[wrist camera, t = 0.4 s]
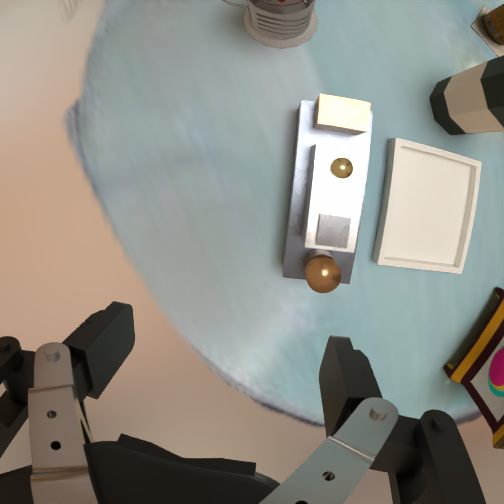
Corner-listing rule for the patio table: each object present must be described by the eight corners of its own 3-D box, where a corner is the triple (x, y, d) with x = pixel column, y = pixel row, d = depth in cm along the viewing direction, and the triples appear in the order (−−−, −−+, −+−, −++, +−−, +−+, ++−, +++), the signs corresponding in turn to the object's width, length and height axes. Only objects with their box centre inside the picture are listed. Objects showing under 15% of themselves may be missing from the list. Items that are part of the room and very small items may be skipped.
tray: (388, 138, 34) (395, 137, 32) (471, 161, 33) (481, 162, 31) (372, 258, 39) (377, 264, 36) (453, 268, 38) (461, 273, 35)
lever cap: (311, 146, 31) (318, 142, 25) (356, 152, 30) (371, 151, 25) (301, 236, 34) (305, 250, 28) (344, 241, 33) (356, 255, 28)
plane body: (298, 108, 34) (304, 91, 26) (361, 118, 34) (384, 105, 25) (282, 263, 40) (282, 291, 31) (341, 269, 39) (357, 297, 31)
